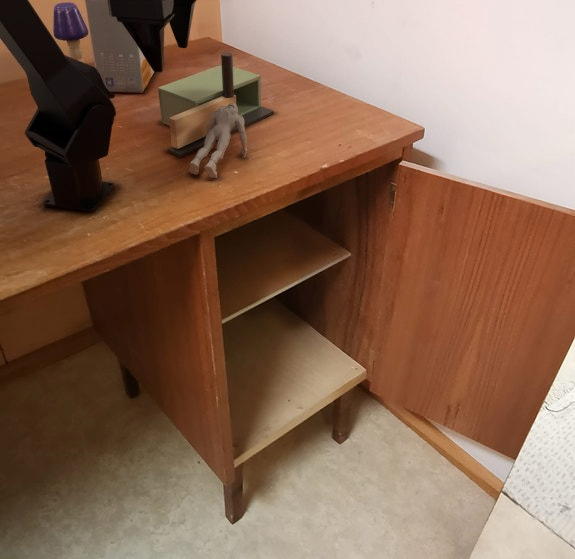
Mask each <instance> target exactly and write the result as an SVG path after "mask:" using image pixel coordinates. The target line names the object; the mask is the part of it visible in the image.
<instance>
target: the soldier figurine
mask: <svg viewBox="0 0 575 559" xmlns="http://www.w3.org/2000/svg"><path fill="white" fill-rule="evenodd" d="M236 124H237V127H238V131H237V132H238V138H239V140H240V143H241V149H240V150H239V153H240V154H241V153H243V154H242V156H241V157H242V158H246V156H247V153H248V148H247V142H248V136H247V132H246V127H244V118H243V116H242V115H241V114H240V115H238V108H237V105H236V104H234V103H230V104H228V106H226V107H225V106H221V107H219V108H218V111H215V112H213V113H212V115H211V118H210V120H209V124H208V125H207V126H206V139H205V142H204V143H205V145H204V146H203V147H201V148H199V149H198V150H197V152H196V155H195V156H194V158H193V159H192V160H191V161H190V163H189V167H190V168H189V169H188V171H189V172H190V174H191V175H194V176H197V175H199V172H200V170H199V168H200V164H201V161H202V160H203V159H204V158H207V157H208V156H209V152H211V151H212V149H213V148H214V146H215V145H216V143H217V145H216V150H215V151H214V152H212V154H211V156H210V158H209V161H208V162H207V163H206V164H205V165H204V167H203V168H204V170H205V171H206V172H208V174H207V176H208V177H210V178H211V179H217V178H218V172H217V163H218V161H221V160H223V159H224V155H225V151H226V150H227V149H228V147H229V144H230V141H231V136H232V133H231V134H230V132H231V130H232V129H233V128H234V127H235V126H236Z"/></svg>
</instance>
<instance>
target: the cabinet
mask: <svg viewBox="0 0 575 559" xmlns="http://www.w3.org/2000/svg"><path fill="white" fill-rule="evenodd" d="M261 78H262V76H261V75H260V74H258V73H254V72H251V71H248V70H245V69H243V68H238V67H237V66H233V83H234V95H236V105H237V108H238V115H240V114H241V115H242V116H243V118H244V127H245V128H246V127H248V126H250V125H253V124H256V123H257V122H259V121H261V120H264V119H266V118H268V117H270V116H273V115H274V114H275V111H274V110H273V109H269V108H266V107H263V106H262V81H261V80H262V79H261ZM157 91H158V98H159V99H158V100H159V109H160V117H161V123H162V124H164V125H166V126H169V127H170V124H169V118H170V117H172V116H175V115H177V114H180V113H182V112H185V111H187V110H190V109H192V108H195V107H197V106H200V105H202V104H205V103H207V102H210V101H212V100H214V99H217V98H219V97H222V96H223V87H222V65H221V64H220V65H217V66H214V67H211V68H208V69H206V70H202V71H200V72H198V73H195V74H192V75H189V76H186V77H183V78H180V79H177V80H175V81H172V82H170V83H167V84H163V85H161V86H159V87H157ZM236 132H239V131H238V127H237V124H236V126H235V127H234V128H233V129H232V130H231V132H230V134H231V135H232V134H234V133H236ZM205 139H206V136H205V137H203V138H201V139H198V140H196V141H194V142H192V143H190V144H187V145H185V146H183V147H181V148H179V149H177V148H174V147H172V146H170V147H169V148H167V152H168V154H172V155H174V156H176V157H178V158H182V157H184V156H186V155H189V154H190V153H193V152H195V151H198V150H200V149H201V148H203V147H204V145H205V143H204V142H205Z"/></svg>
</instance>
